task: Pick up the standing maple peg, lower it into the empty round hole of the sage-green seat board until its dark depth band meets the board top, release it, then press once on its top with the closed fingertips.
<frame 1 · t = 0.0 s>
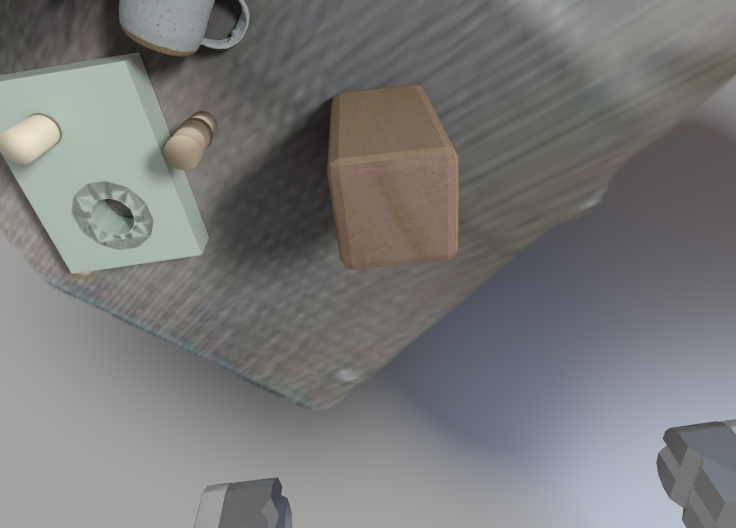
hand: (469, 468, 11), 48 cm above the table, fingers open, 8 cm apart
peg: (203, 123, 54), on the table
wooden block: (380, 131, 56), on the table
board: (109, 165, 56), on the table
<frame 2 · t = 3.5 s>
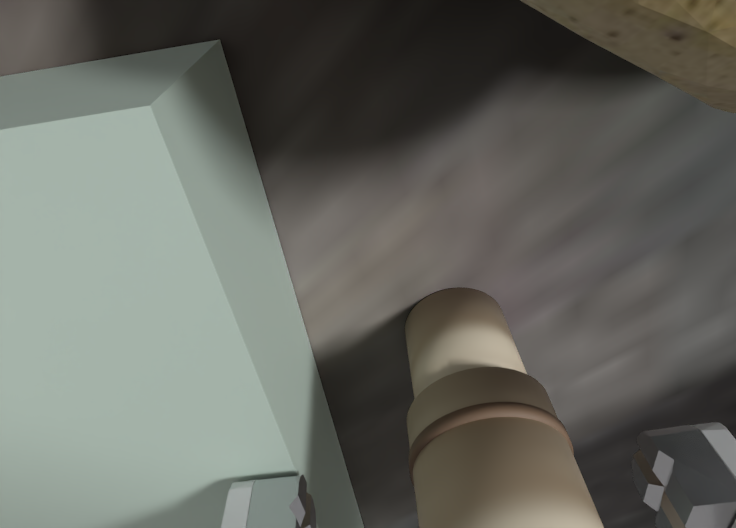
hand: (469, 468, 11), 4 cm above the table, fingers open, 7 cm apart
peg: (453, 326, 14), on the table
board: (85, 445, 16), on the table
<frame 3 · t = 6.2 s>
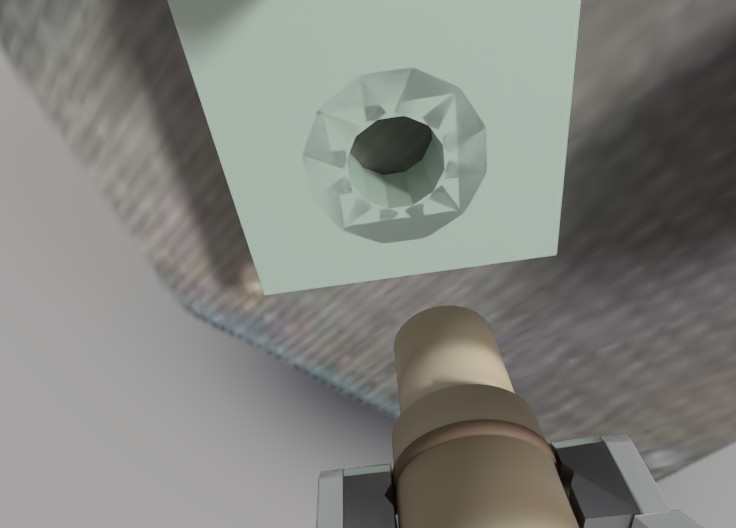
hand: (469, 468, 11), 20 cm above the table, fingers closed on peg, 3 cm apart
peg: (443, 345, 13), point 16 cm above the table, touching gripper
board: (378, 45, 24), on the table
when the fingers open (5 cm above the table, at t = 8.5 s): peg drops 1 cm, resting in board.
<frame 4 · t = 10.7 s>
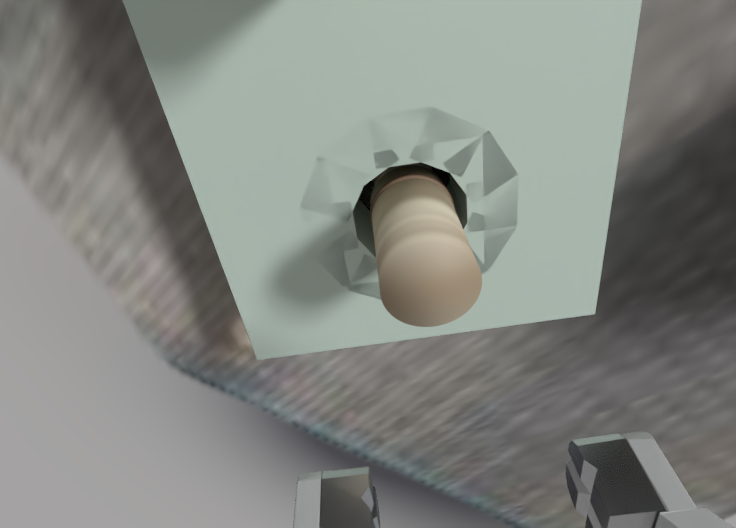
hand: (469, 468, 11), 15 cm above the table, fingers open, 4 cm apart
peg: (401, 173, 23), resting in board
board: (389, 76, 21), on the table
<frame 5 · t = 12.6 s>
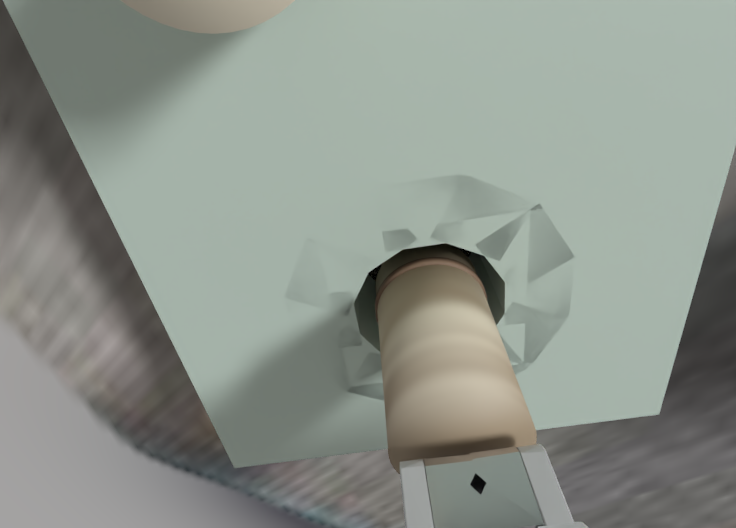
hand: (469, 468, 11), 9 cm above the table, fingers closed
peg: (415, 236, 18), resting in board
board: (401, 120, 16), on the table
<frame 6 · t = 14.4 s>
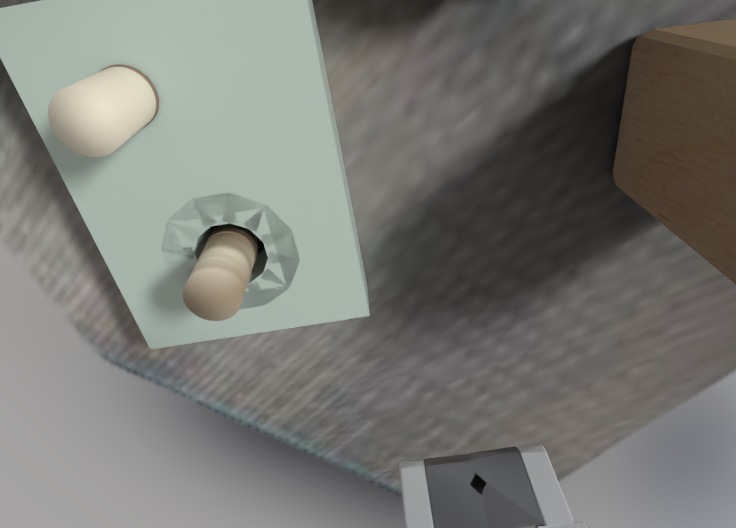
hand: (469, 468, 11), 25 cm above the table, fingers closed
peg: (242, 225, 35), resting in board
wooden block: (690, 102, 32), on the table
board: (222, 167, 33), on the table
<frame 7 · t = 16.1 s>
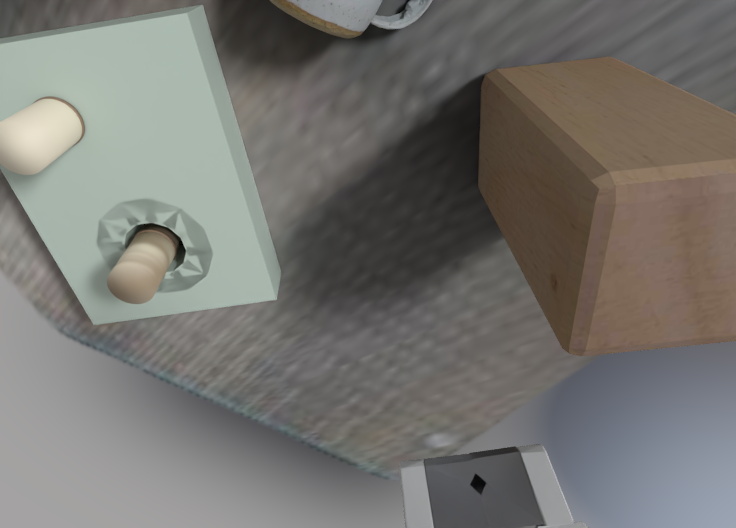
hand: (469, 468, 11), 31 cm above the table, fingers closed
peg: (170, 222, 42), resting in board
wooden block: (539, 126, 39), on the table
board: (149, 174, 39), on the table
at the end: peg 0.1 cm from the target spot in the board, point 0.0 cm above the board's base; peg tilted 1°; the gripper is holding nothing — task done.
